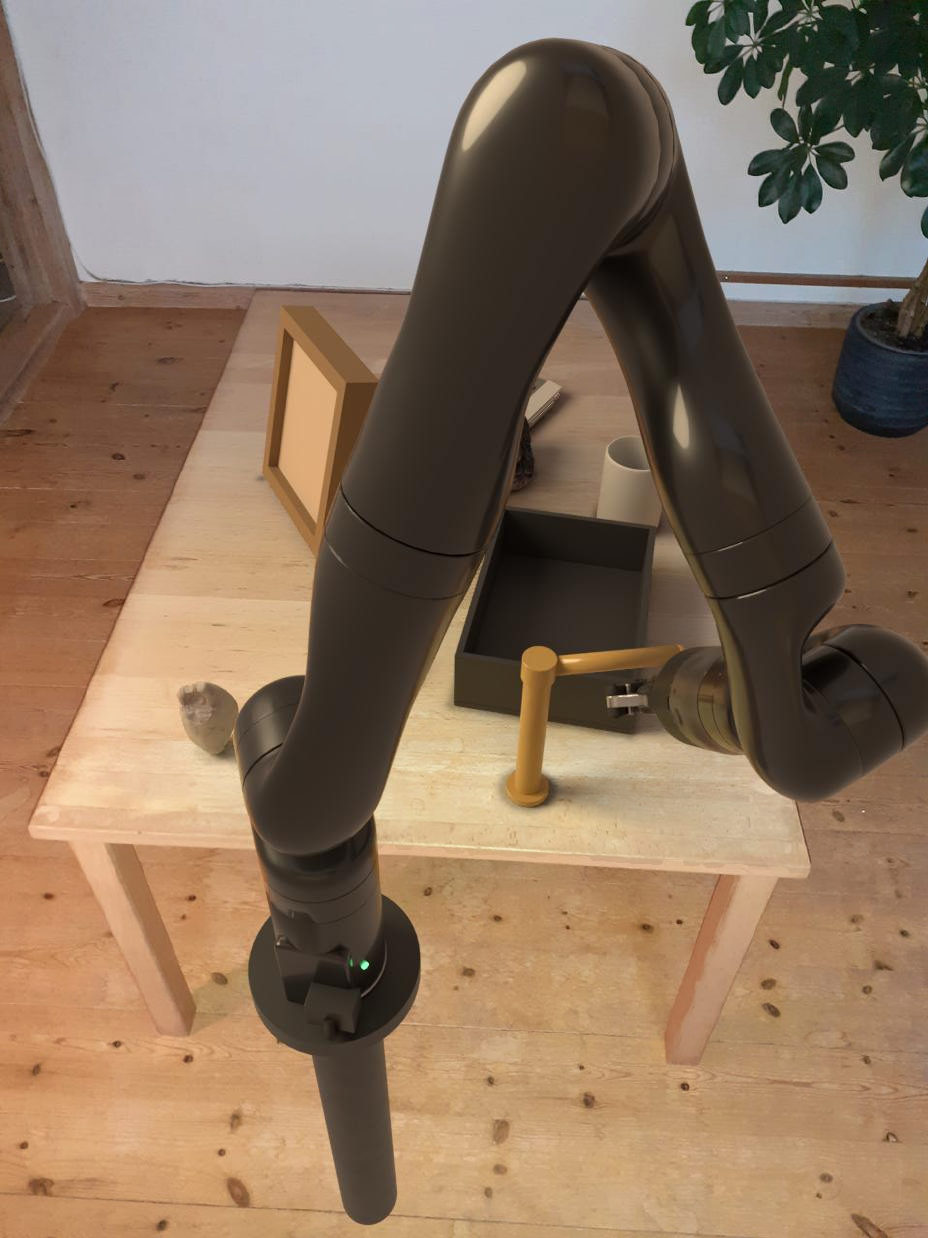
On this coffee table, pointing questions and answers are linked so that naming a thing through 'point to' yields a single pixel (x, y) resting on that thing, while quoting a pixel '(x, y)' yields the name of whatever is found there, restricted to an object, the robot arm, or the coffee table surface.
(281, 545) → the coffee table surface
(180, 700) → the fossil
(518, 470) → the crystal cluster
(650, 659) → the faucet spout
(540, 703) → the faucet column
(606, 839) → the coffee table surface
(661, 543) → the coffee table surface
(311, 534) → the photo frame
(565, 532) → the sink
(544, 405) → the alarm clock
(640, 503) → the mug
